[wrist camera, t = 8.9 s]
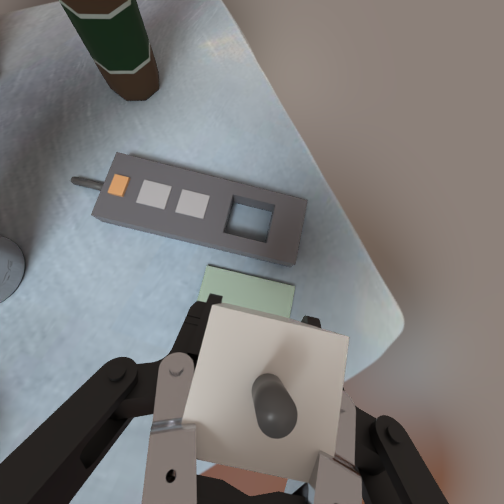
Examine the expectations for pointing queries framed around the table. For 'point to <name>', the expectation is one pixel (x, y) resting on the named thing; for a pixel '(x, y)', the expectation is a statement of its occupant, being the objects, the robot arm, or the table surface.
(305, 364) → the block
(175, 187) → the power strip
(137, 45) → the beer bottle
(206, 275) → the mat
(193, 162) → the table surface
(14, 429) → the table surface
